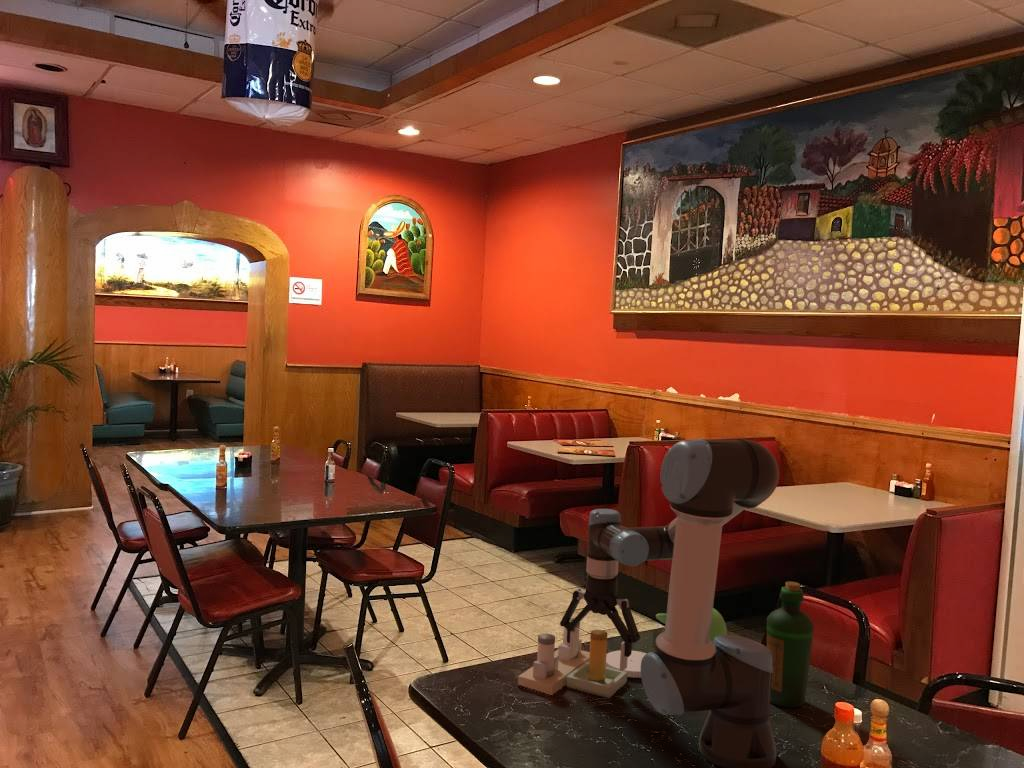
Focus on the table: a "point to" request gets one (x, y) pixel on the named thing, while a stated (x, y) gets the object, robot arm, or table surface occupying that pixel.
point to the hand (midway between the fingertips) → (597, 662)
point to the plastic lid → (632, 662)
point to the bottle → (789, 648)
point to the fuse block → (553, 664)
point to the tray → (581, 682)
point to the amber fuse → (597, 656)
